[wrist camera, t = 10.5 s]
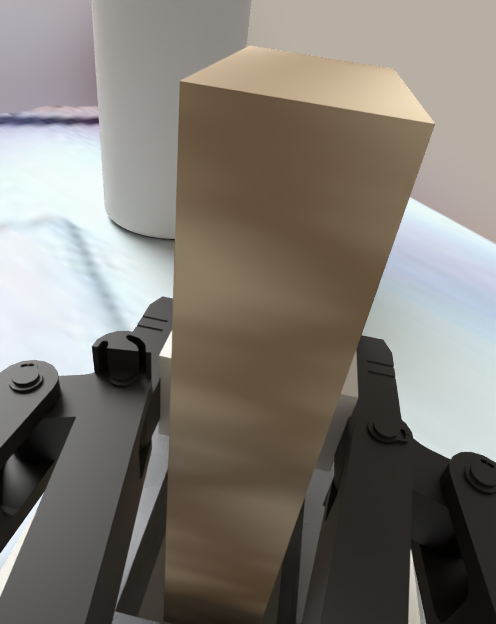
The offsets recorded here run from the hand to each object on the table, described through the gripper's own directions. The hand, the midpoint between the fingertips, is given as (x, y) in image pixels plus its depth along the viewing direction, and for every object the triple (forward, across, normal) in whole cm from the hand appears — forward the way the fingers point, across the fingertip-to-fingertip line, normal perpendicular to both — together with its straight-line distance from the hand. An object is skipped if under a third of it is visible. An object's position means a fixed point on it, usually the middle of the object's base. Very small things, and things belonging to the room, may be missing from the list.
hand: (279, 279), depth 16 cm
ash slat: (-5, 0, -9) cm, 10 cm away
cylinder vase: (+29, -13, -12) cm, 34 cm away
